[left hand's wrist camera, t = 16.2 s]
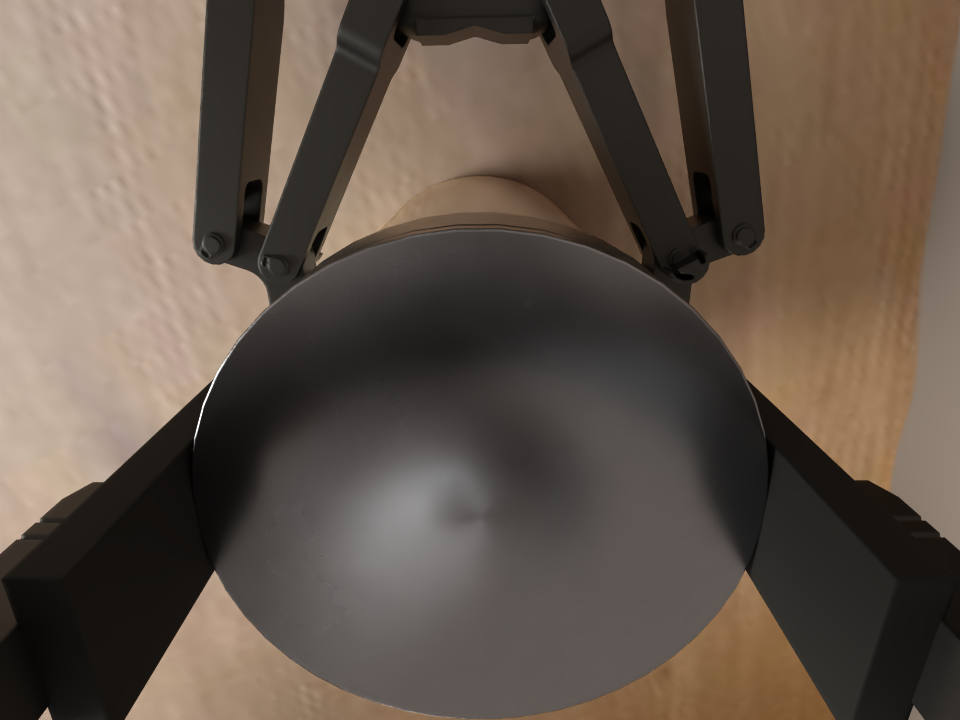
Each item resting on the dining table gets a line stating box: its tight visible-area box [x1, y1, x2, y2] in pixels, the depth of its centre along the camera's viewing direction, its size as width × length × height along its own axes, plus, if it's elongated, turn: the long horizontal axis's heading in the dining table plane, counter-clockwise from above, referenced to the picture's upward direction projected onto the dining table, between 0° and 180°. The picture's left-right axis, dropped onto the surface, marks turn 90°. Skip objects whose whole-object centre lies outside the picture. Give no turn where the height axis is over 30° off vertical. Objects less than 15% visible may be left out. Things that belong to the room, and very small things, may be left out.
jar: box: [379, 176, 581, 231], centre depth 18 cm, size 9×9×15 cm
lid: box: [191, 212, 769, 719], centre depth 11 cm, size 10×10×2 cm
